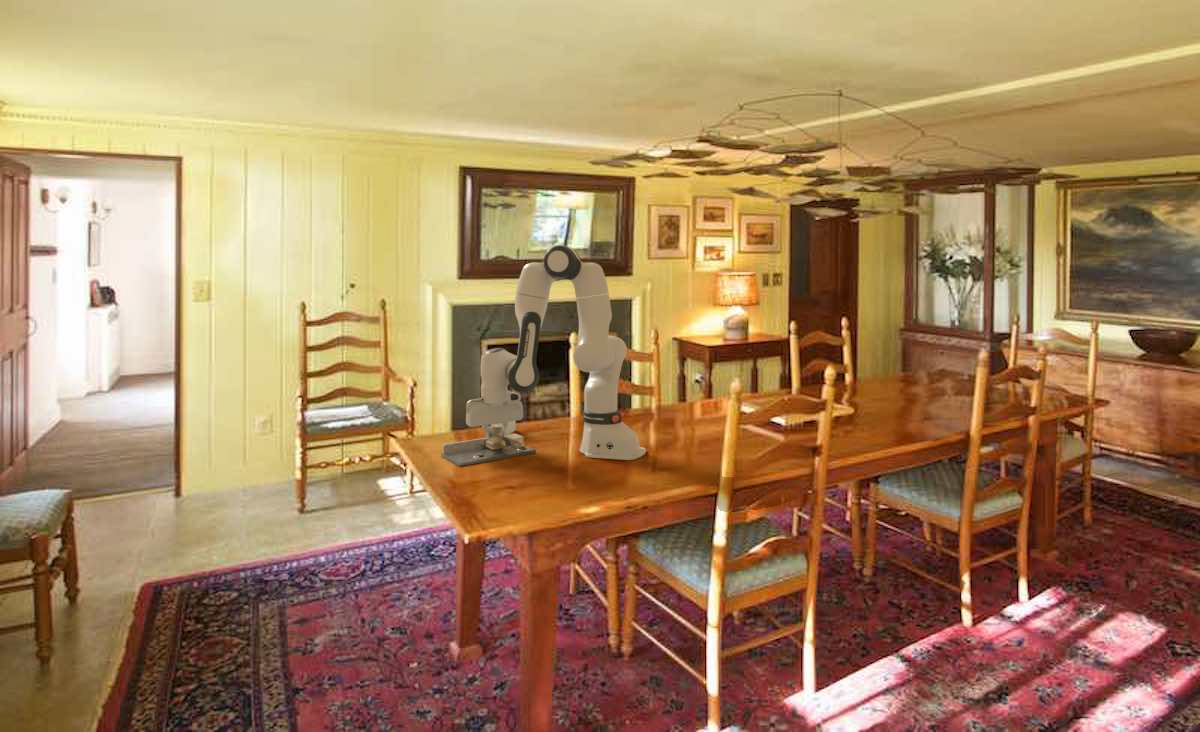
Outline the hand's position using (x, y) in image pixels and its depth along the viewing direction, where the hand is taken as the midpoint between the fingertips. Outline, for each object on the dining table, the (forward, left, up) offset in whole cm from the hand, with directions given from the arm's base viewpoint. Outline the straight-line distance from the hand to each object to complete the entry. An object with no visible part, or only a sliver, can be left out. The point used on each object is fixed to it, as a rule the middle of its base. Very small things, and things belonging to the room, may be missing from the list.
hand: (495, 436), depth 254 cm
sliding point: (-2, +1, -4) cm, 4 cm away
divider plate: (-1, +5, -5) cm, 7 cm away
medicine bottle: (+11, -23, -5) cm, 26 cm away
